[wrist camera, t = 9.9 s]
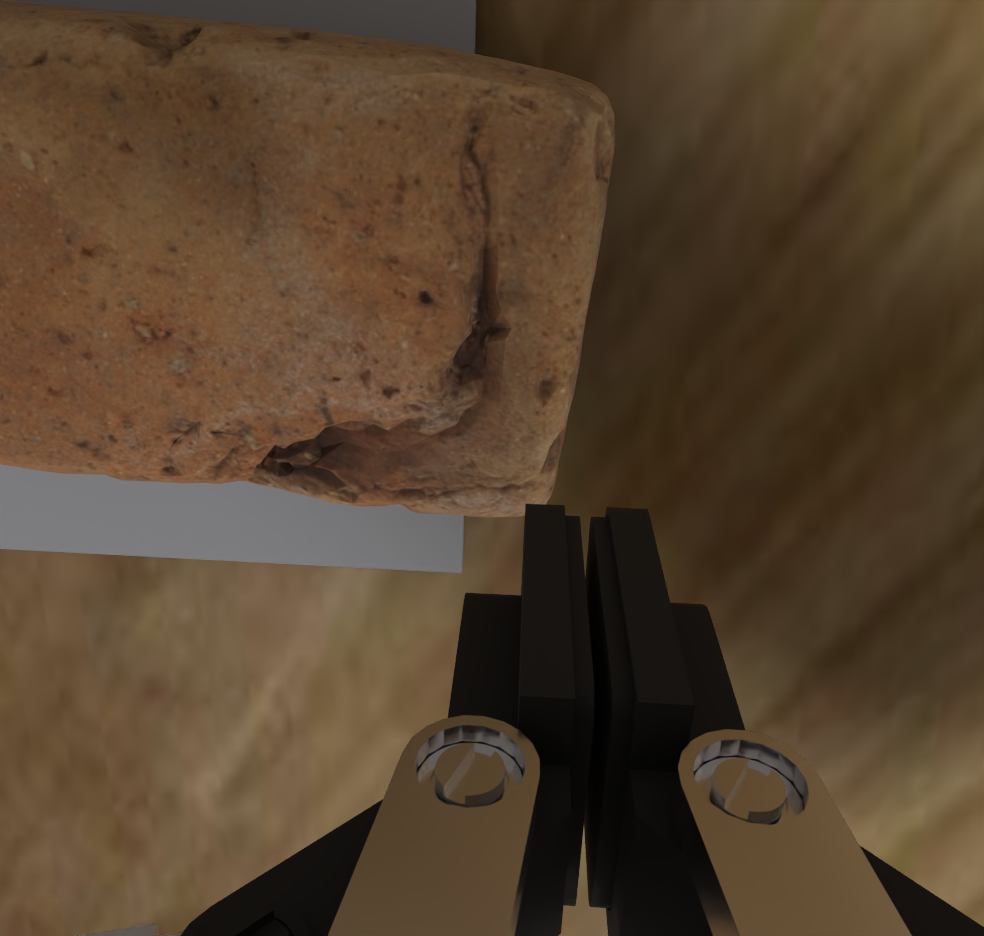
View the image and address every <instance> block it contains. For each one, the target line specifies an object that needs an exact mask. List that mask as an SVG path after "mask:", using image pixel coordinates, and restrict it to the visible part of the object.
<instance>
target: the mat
mask: <svg viewBox="0 0 984 936" xmlns="http://www.w3.org/2000/svg"><path fill="white" fill-rule="evenodd" d="M7 1H17V2H28V3H38V4H48V5H57V6H67V7H77V8H86V9H96V10H109V11H121V12H137V13H148V14H155V15H168V16H179V17H187V18H196V19H208V20H221V21H230V22H239V23H248V24H259V25H272V26H283V27H291V28H299V29H308V30H318V31H327V32H336V33H344V34H351V35H359V36H371V37H382V38H389V39H395V40H402V41H408V42H415V43H421V44H427V45H434V46H440V47H446V48H451V49H455V50H460V51H465V52H469V53H474V54H475V40H476V0H7ZM463 542H464V516H461V515H444V514H422V513H416V512H413V511H410V510H409V509H407V508H406V507H405V506H404V505H400V504H396V505H388V506H353V505H345V504H337V503H331V502H327V501H324V500H320V499H316V498H312V497H309V496H305V495H301V494H297V493H293V492H290V491H286V490H282V489H278V488H275V487H270V486H264V485H259V484H255V483H251V482H246V481H235V482H228V483H222V484H213V483H168V482H148V481H124V480H119V479H115V478H112V477H110V476H107V475H105V474H97V475H94V474H62V473H54V472H46V471H39V470H32V469H25V468H21V467H15V466H8V465H2V464H0V549H14V550H33V551H52V552H71V553H90V554H109V555H128V556H147V557H166V558H185V559H204V560H223V561H242V562H261V563H280V564H298V565H317V566H336V567H355V568H374V569H393V570H412V571H431V572H450V573H462V568H463Z"/></svg>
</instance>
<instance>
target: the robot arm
mask: <svg viewBox="0 0 984 936" xmlns="http://www.w3.org/2000/svg"><path fill="white" fill-rule="evenodd" d="M583 826H584V829H585V846H586V863H587V880H588V896H589V905H590V907H600V908H606V913H607V926H608V936H984V927H983V926H981V925H980V924H978V923H977V922H975V921H974V920H972V919H971V918H969V917H967V916H966V915H964V914H963V913H961V912H960V911H958V910H957V909H955V908H954V907H952V906H951V905H949V904H948V903H946V902H945V901H943V900H942V899H940V898H939V897H937V896H936V895H934V894H932V893H931V892H929V891H928V890H926V889H925V888H923V887H922V886H920V885H919V884H917V883H916V882H914V881H913V880H911V879H910V878H908V877H907V876H905V875H904V874H902V873H901V872H899V871H897V870H896V869H894V868H893V867H891V866H890V865H888V864H887V863H885V862H884V861H882V860H881V859H879V858H878V857H876V856H875V855H873V854H872V853H870V852H869V851H867V850H866V849H864V848H862V847H861V846H859V844H858V842H857V841H856V839H855V837H854V836H853V834H852V832H851V830H850V829H849V827H848V825H847V824H846V822H845V820H844V818H843V817H842V815H841V813H840V812H839V810H838V808H837V806H836V805H835V803H834V801H833V800H832V798H831V796H830V794H829V793H828V791H827V789H826V788H825V786H824V784H823V782H822V781H821V779H820V777H819V776H818V774H817V773H816V772H815V770H814V769H813V768H812V767H811V765H810V764H809V763H808V762H807V760H806V759H804V758H803V757H802V756H801V755H799V754H798V753H797V752H795V751H794V750H793V749H792V748H790V747H789V746H787V745H785V744H783V743H781V742H779V741H777V740H775V739H773V738H771V737H769V736H766V735H762V734H758V733H754V732H751V731H747V730H745V728H744V724H743V721H742V718H741V715H740V711H739V708H738V705H737V701H736V698H735V695H734V692H733V688H732V685H731V682H730V679H729V675H728V672H727V669H726V665H725V662H724V659H723V656H722V652H721V649H720V646H719V642H718V639H717V636H716V633H715V629H714V626H713V623H712V620H711V616H710V613H709V611H708V609H707V607H706V606H705V605H703V604H682V603H670V600H669V596H668V592H667V588H666V583H665V579H664V575H663V571H662V567H661V562H660V558H659V554H658V550H657V546H656V541H655V537H654V533H653V529H652V525H651V521H650V516H649V512H648V510H647V509H632V508H610V507H607V510H606V514H605V517H591V522H590V531H589V543H588V555H587V567H586V578H585V572H584V561H583V549H582V538H581V526H580V517H579V516H565V507H564V505H544V504H525V523H524V544H523V565H522V586H521V596H519V595H499V594H479V593H466V594H465V598H464V605H463V612H462V619H461V626H460V634H459V641H458V648H457V655H456V663H455V670H454V677H453V684H452V691H451V699H450V706H449V713H448V718H445V719H442V720H440V721H437V722H435V723H433V724H430V725H428V726H426V727H425V728H423V729H422V730H421V731H420V732H418V733H417V734H416V735H415V736H413V737H412V738H411V740H410V741H409V743H408V744H407V746H406V747H405V749H404V750H403V752H402V754H401V757H400V759H399V762H398V764H397V767H396V769H395V771H394V774H393V776H392V779H391V781H390V784H389V786H388V789H387V791H386V794H385V796H384V799H383V800H381V801H379V802H378V803H376V804H375V805H373V806H371V807H370V808H368V809H367V810H365V811H363V812H362V813H360V814H359V815H357V816H355V817H354V818H352V819H351V820H349V821H347V822H346V823H344V824H343V825H341V826H339V827H338V828H336V829H335V830H333V831H331V832H330V833H328V834H326V835H325V836H323V837H322V838H320V839H318V840H317V841H315V842H314V843H312V844H310V845H309V846H307V847H306V848H304V849H302V850H301V851H299V852H298V853H296V854H294V855H293V856H291V857H290V858H288V859H286V860H285V861H283V862H282V863H280V864H278V865H277V866H275V867H273V868H272V869H270V870H269V871H267V872H265V873H264V874H262V875H261V876H259V877H257V878H256V879H254V880H253V881H251V882H249V883H248V884H246V885H245V886H243V887H241V888H240V889H238V890H237V891H235V892H233V893H232V894H230V895H229V896H227V897H225V898H224V899H222V900H221V901H219V902H217V903H216V904H214V905H212V906H211V907H210V908H208V909H207V910H206V911H205V912H203V913H202V914H201V915H200V916H198V917H197V918H196V919H195V920H193V921H192V922H191V923H190V924H189V925H188V926H187V928H186V929H185V930H184V932H179V933H173V934H166V935H160V936H558V935H559V934H560V933H561V925H562V914H563V905H568V906H575V904H576V897H577V887H578V877H579V867H580V857H581V847H582V836H583ZM78 936H159V932H158V927H157V924H151V925H145V926H138V927H131V928H125V929H118V930H112V931H105V932H98V933H92V934H85V935H78Z"/></svg>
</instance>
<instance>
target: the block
mask: <svg viewBox="0 0 984 936" xmlns="http://www.w3.org/2000/svg"><path fill="white" fill-rule="evenodd" d="M614 149H615V113H614V111H613V109H612V106H611V103H610V101H609V98H608V97H607V96H606V95H605V93H604V92H603V91H601V90H600V89H599V88H598V87H596V86H595V85H594V84H592V83H589V82H587V81H584V80H581V79H579V78H576V77H573V76H569V75H566V74H563V73H560V72H556V71H553V70H549V69H544V68H540V67H535V66H530V65H525V64H521V63H517V62H512V61H508V60H504V59H499V58H494V57H488V56H483V55H479V54H474V53H469V52H465V51H460V50H455V49H451V48H446V47H440V46H434V45H427V44H421V43H415V42H408V41H402V40H395V39H389V38H382V37H371V36H359V35H351V34H344V33H336V32H327V31H318V30H308V29H299V28H291V27H283V26H272V25H259V24H248V23H239V22H230V21H221V20H208V19H196V18H187V17H179V16H168V15H155V14H148V13H137V12H121V11H109V10H96V9H86V8H77V7H67V6H57V5H48V4H38V3H28V2H17V1H7V0H0V464H2V465H8V466H15V467H21V468H25V469H32V470H39V471H46V472H54V473H62V474H94V475H97V474H105V475H107V476H110V477H112V478H115V479H119V480H124V481H148V482H168V483H213V484H222V483H228V482H235V481H246V482H251V483H255V484H259V485H264V486H270V487H275V488H278V489H282V490H286V491H290V492H293V493H297V494H301V495H305V496H309V497H312V498H316V499H320V500H324V501H327V502H331V503H337V504H345V505H353V506H388V505H396V504H400V505H404V506H405V507H406V508H407V509H409V510H410V511H413V512H416V513H422V514H444V515H461V516H471V517H519V516H524V515H525V504H544V505H546V503H547V502H548V500H549V498H550V497H551V495H552V493H553V490H554V486H555V482H556V477H557V472H558V466H559V461H560V456H561V451H562V446H563V441H564V436H565V431H566V426H567V421H568V415H569V411H570V407H571V403H572V400H573V396H574V393H575V385H576V380H577V376H578V371H579V365H580V358H581V349H582V342H583V334H584V329H585V322H586V315H587V310H588V305H589V301H590V295H591V289H592V284H593V280H594V275H595V270H596V264H597V259H598V253H599V247H600V242H601V236H602V230H603V224H604V218H605V213H606V206H607V197H608V188H609V180H610V174H611V168H612V161H613V155H614Z"/></svg>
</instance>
